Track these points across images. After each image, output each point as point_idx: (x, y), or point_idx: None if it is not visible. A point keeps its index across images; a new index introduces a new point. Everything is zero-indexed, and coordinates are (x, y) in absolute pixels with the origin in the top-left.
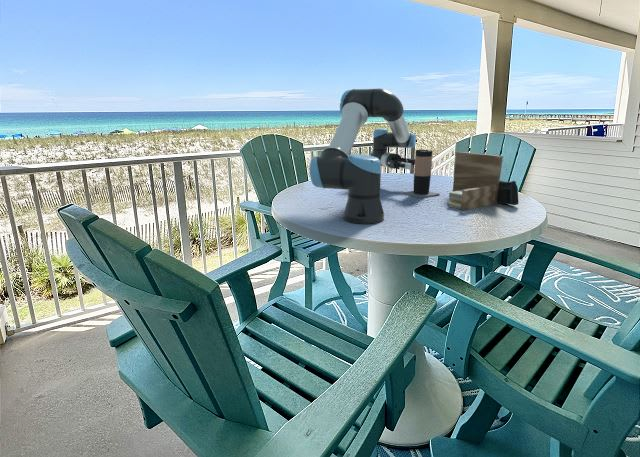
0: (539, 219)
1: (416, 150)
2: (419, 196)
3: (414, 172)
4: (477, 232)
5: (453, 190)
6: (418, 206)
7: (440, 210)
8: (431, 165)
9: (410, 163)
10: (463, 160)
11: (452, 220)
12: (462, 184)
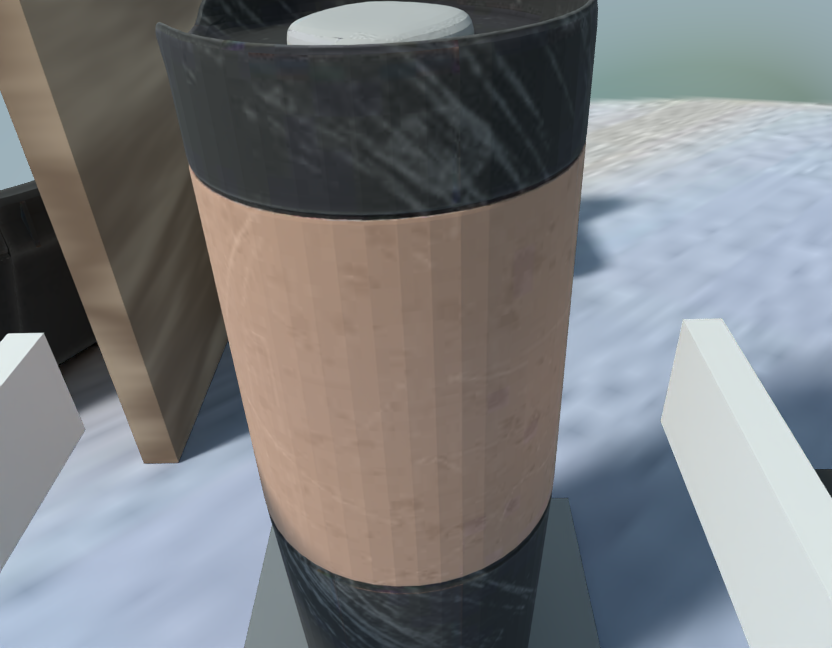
0: None
1: (487, 42)
2: (572, 520)
3: (546, 477)
4: (707, 123)
5: (169, 421)
6: (760, 352)
7: (661, 263)
8: (63, 405)
9: (694, 336)
10: (103, 65)
11: (711, 183)
12: (180, 297)
